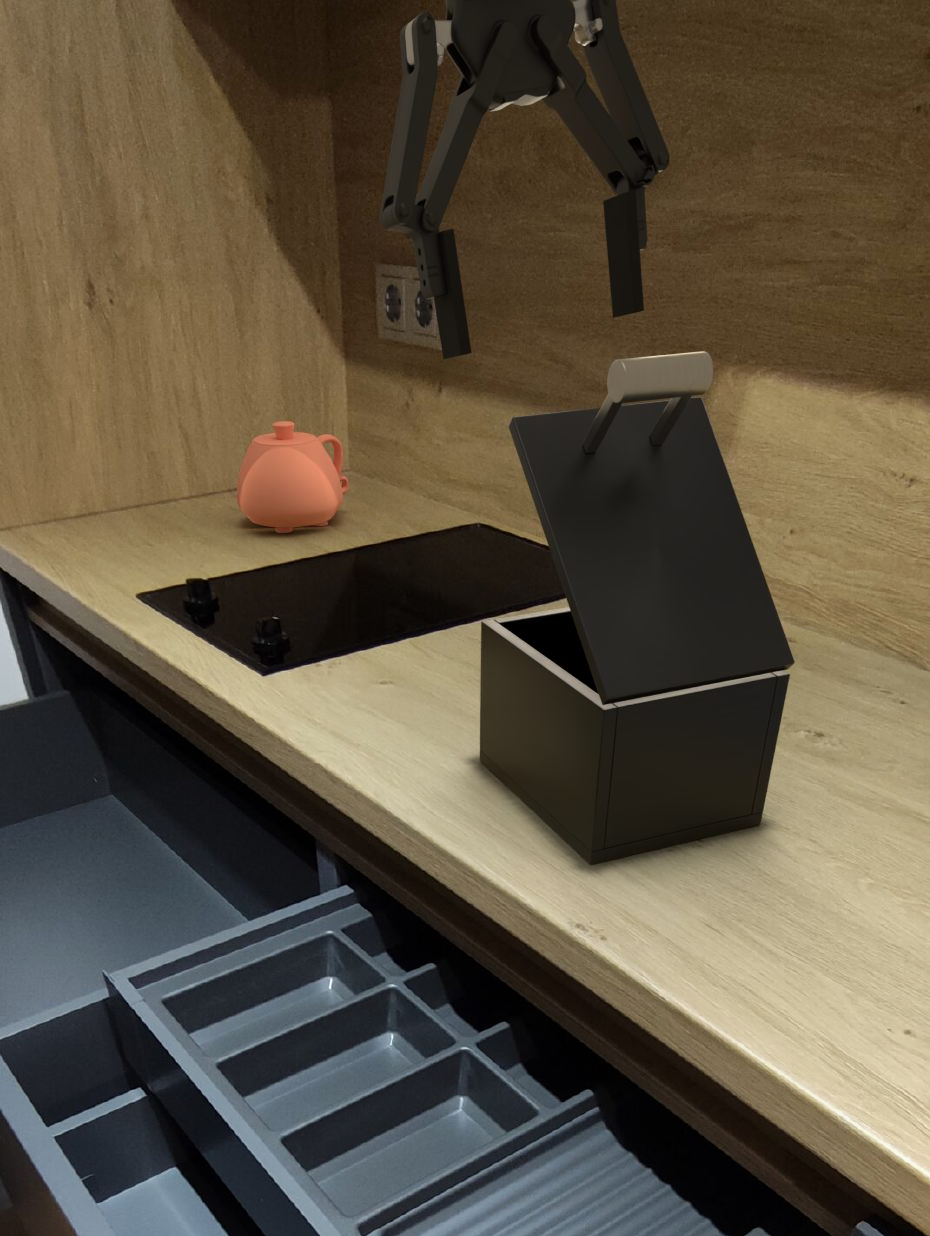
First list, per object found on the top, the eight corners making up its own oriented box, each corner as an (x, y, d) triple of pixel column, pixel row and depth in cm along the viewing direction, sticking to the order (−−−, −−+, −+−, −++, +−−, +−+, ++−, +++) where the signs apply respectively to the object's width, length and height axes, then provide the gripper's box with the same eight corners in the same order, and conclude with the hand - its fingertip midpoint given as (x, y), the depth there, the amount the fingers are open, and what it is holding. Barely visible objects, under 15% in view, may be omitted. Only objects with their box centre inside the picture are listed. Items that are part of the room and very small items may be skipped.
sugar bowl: (223, 519, 132) (210, 420, 125) (325, 501, 138) (318, 405, 131) (270, 543, 124) (259, 438, 118) (376, 522, 130) (371, 421, 123)
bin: (479, 760, 81) (480, 620, 75) (630, 730, 85) (645, 593, 78) (590, 865, 70) (603, 710, 63) (760, 824, 73) (790, 673, 67)
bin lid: (507, 426, 64) (547, 329, 58) (695, 405, 68) (753, 312, 61) (601, 705, 63) (654, 639, 57) (788, 669, 67) (857, 603, 60)
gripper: (637, -106, 69) (663, 304, 81) (273, -60, 63) (359, 379, 75) (713, -162, 64) (729, 290, 75) (319, -117, 57) (404, 369, 69)
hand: (544, 335), depth 75 cm, fingers open, 13 cm apart
